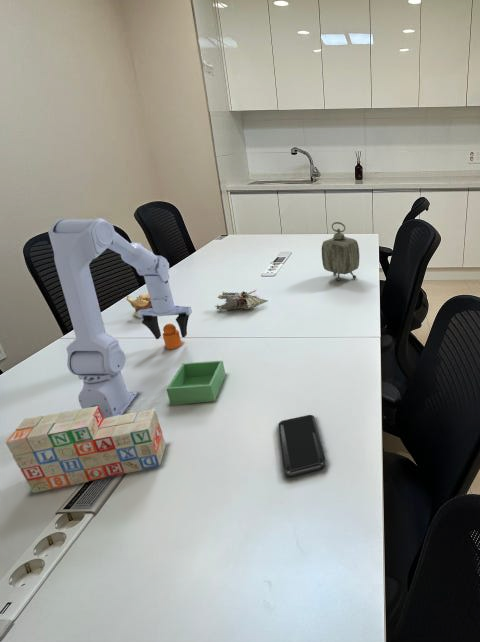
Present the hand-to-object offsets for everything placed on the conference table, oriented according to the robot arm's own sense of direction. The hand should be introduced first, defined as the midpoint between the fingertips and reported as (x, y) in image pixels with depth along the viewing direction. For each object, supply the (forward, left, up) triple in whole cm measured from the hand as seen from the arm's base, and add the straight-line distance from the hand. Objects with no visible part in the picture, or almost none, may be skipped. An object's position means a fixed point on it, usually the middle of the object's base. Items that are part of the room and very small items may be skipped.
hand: (171, 336), depth 118 cm
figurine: (+26, -16, -3) cm, 31 cm away
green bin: (-25, -15, -3) cm, 29 cm away
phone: (-48, -42, -3) cm, 64 cm away
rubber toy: (0, 0, -3) cm, 3 cm away
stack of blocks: (-49, -4, -3) cm, 49 cm away
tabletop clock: (+51, -53, -3) cm, 74 cm away
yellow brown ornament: (+26, +19, -3) cm, 33 cm away
